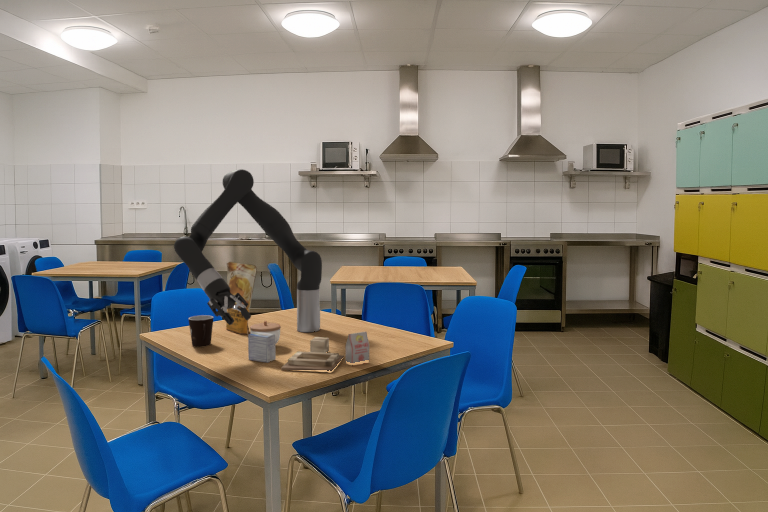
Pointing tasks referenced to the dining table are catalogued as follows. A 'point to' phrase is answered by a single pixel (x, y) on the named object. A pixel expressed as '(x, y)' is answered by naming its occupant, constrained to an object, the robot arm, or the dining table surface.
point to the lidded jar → (267, 329)
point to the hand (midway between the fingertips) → (240, 320)
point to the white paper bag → (357, 347)
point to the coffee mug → (201, 330)
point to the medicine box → (261, 347)
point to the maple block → (319, 345)
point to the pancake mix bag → (240, 292)
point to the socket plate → (297, 367)
